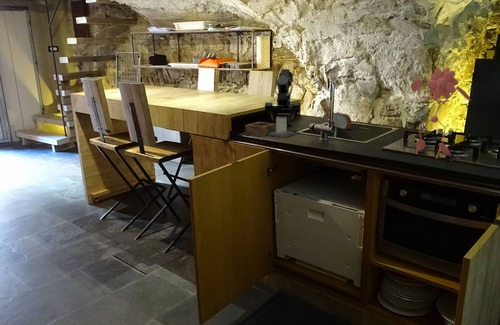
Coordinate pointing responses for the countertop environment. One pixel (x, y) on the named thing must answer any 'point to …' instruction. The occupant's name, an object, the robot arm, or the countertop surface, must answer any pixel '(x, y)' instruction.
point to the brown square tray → (260, 128)
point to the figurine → (439, 86)
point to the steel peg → (281, 125)
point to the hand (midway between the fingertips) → (281, 120)
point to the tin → (342, 120)
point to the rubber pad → (281, 134)
